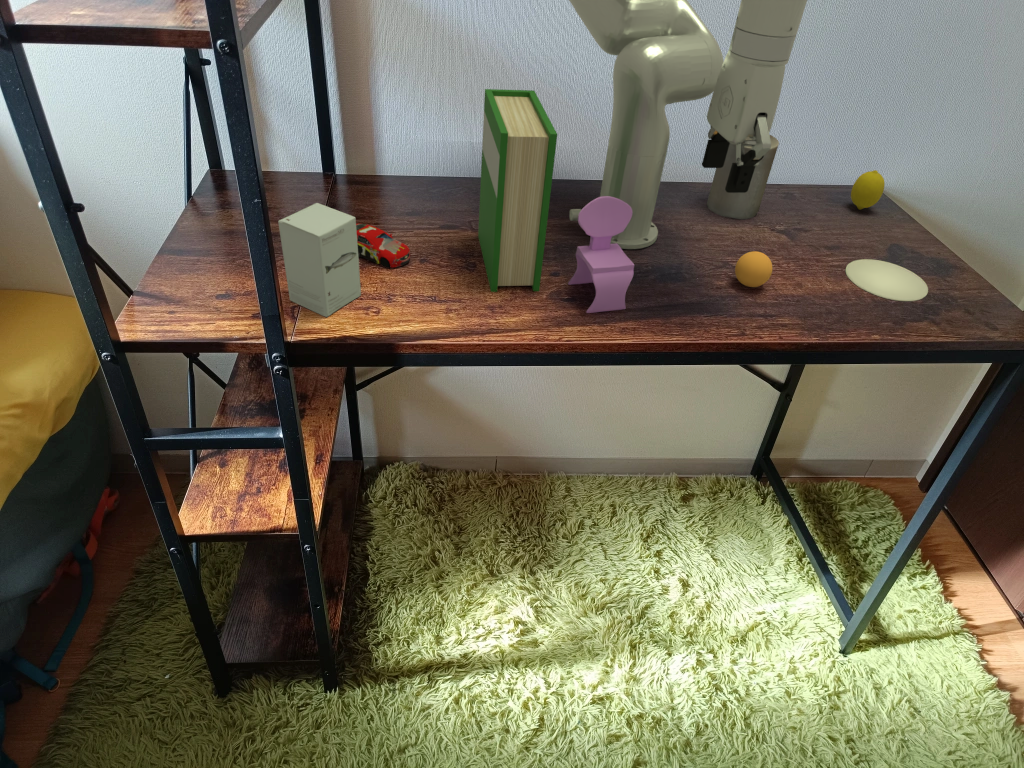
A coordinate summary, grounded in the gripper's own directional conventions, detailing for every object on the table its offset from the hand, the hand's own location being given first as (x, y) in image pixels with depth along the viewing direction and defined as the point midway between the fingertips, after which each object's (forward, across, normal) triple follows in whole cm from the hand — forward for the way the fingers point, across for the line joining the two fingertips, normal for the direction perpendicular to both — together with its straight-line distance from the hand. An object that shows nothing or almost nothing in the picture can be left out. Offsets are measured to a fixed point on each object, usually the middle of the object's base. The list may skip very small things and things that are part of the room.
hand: (723, 178), depth 98 cm
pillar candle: (+18, -27, +18) cm, 37 cm away
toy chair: (+18, +2, -17) cm, 25 cm away
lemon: (+18, -26, +46) cm, 55 cm away
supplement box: (+18, 0, -56) cm, 59 cm away
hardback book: (+18, -9, -28) cm, 35 cm away
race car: (+18, -13, -50) cm, 54 cm away
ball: (+15, 0, +9) cm, 18 cm away
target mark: (+18, 0, +34) cm, 39 cm away
